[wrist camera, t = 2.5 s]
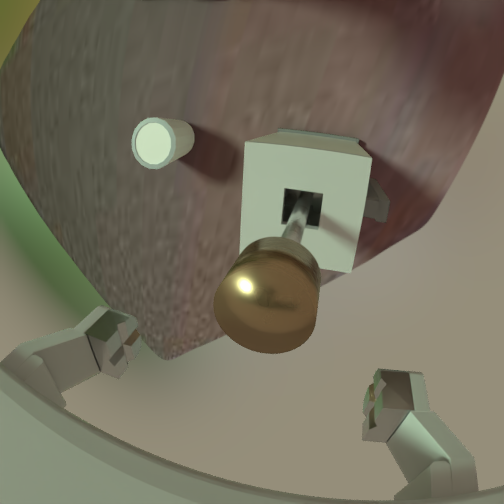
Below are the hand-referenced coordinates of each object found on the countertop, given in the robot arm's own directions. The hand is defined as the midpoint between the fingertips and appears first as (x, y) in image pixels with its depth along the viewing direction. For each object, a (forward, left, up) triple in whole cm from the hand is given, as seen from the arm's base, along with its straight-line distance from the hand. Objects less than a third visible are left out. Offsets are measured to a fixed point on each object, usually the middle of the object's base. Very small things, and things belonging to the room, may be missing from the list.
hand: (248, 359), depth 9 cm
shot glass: (-20, +3, -34) cm, 40 cm away
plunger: (0, 0, -22) cm, 22 cm away
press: (+1, 0, -34) cm, 34 cm away
